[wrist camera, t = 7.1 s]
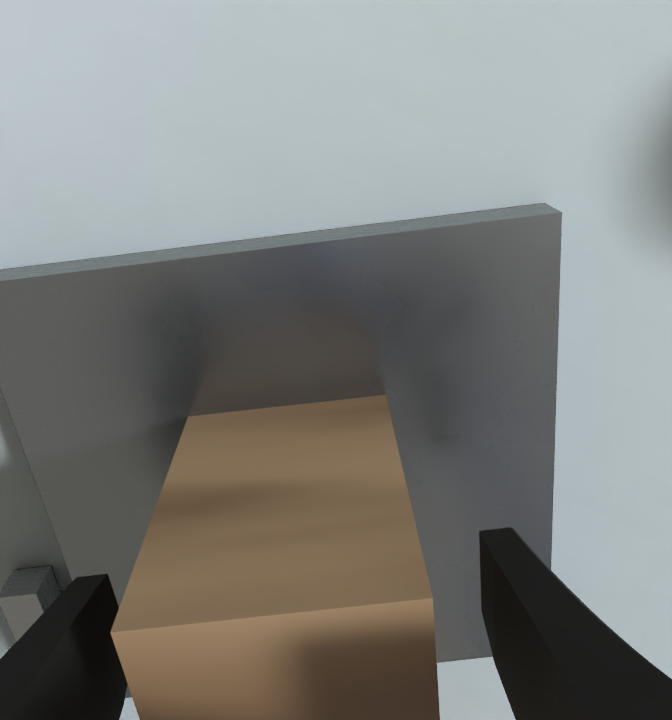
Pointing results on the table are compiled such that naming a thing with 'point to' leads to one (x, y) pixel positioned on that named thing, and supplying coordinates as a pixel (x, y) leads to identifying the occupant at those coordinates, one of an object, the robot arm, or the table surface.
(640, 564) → the table surface
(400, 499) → the brown rectangular block
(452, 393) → the press base
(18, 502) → the table surface
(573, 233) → the table surface
